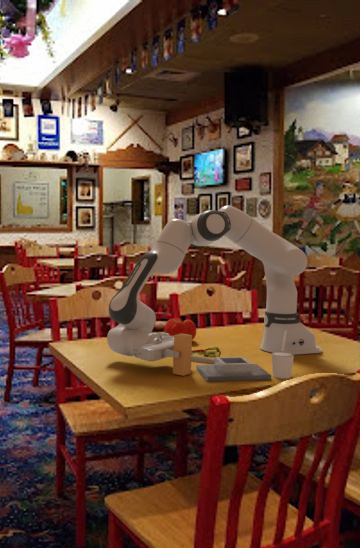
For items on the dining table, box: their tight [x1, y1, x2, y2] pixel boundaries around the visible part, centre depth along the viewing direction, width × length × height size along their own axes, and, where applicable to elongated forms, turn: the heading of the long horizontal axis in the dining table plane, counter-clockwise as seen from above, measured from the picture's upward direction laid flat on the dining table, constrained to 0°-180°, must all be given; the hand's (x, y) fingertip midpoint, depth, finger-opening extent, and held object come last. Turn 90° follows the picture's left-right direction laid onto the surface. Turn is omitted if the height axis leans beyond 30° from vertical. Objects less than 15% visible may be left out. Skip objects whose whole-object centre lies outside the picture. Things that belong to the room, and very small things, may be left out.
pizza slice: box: [191, 346, 221, 365], centre depth 225 cm, size 16×21×3 cm
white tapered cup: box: [271, 352, 295, 379], centre depth 200 cm, size 7×7×7 cm
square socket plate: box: [195, 356, 272, 383], centre depth 200 cm, size 20×14×4 cm
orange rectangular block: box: [172, 333, 193, 377], centre depth 198 cm, size 4×4×12 cm
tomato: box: [163, 317, 197, 341], centre depth 248 cm, size 13×12×8 cm
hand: (184, 353), depth 197 cm, fingers closed on orange rectangular block, 4 cm apart
